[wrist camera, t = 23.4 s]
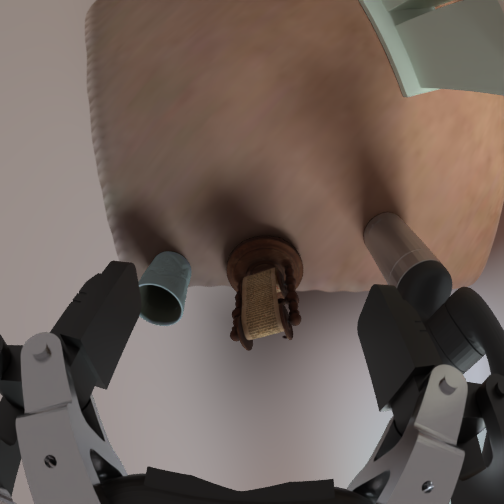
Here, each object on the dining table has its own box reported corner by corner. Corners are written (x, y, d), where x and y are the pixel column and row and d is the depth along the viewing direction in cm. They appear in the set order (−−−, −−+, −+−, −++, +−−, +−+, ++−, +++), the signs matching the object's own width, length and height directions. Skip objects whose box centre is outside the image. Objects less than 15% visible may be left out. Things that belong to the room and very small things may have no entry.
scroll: (287, 221, 51) (298, 289, 34) (310, 282, 58) (325, 357, 41) (215, 247, 55) (194, 319, 37) (245, 302, 61) (239, 377, 44)
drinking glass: (160, 239, 54) (138, 273, 44) (204, 262, 57) (191, 301, 46) (144, 274, 59) (124, 310, 48) (185, 295, 61) (171, 334, 51)
